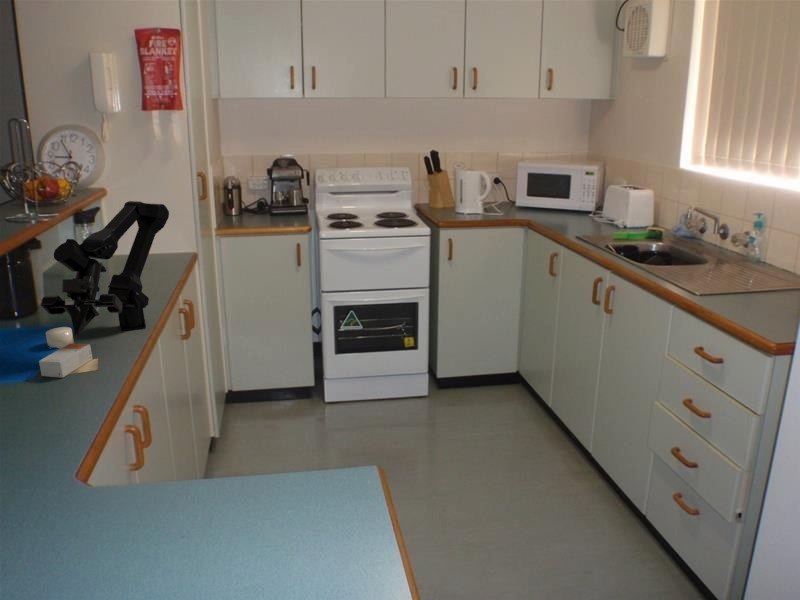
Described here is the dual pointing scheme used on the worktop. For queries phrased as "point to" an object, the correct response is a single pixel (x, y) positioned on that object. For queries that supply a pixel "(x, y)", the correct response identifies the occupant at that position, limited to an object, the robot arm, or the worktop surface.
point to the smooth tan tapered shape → (87, 367)
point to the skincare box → (65, 360)
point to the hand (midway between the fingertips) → (76, 334)
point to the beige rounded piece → (59, 337)
